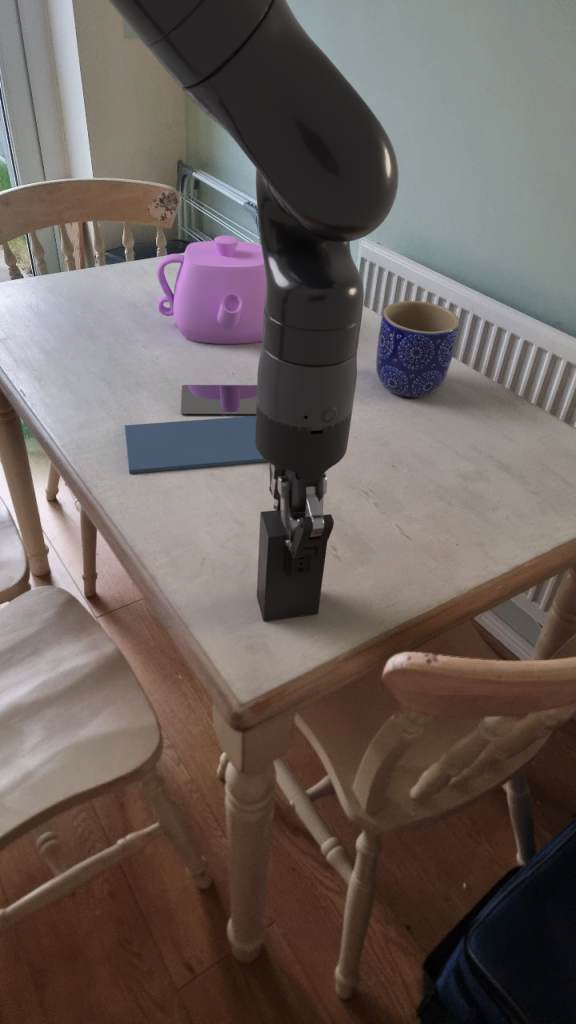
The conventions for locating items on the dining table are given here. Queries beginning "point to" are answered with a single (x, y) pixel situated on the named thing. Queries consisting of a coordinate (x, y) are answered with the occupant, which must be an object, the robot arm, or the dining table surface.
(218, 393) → the smartphone
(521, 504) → the dining table surface
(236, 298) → the teapot
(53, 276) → the dining table surface
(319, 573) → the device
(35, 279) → the dining table surface
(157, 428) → the mat
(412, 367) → the planter
